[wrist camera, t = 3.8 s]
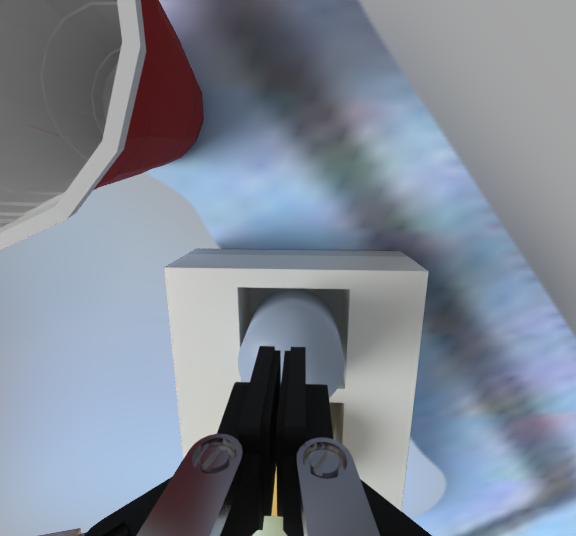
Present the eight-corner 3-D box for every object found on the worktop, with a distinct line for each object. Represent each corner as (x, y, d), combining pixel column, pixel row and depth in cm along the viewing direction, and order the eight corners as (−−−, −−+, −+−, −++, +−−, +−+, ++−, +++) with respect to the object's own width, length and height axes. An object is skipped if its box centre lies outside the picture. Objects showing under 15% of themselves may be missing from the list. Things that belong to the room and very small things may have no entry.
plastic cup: (23, 140, 18) (-457, 68, 7) (106, -55, 16) (-444, -706, 4) (186, 249, 19) (8, 344, 8) (288, 82, 17) (247, -140, 5)
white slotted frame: (400, 251, 19) (428, 271, 14) (377, 508, 24) (393, 581, 19) (196, 248, 19) (164, 267, 15) (214, 499, 24) (194, 568, 20)
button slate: (338, 289, 16) (347, 317, 13) (335, 368, 17) (342, 413, 14) (250, 287, 16) (235, 314, 13) (252, 365, 17) (239, 409, 14)
